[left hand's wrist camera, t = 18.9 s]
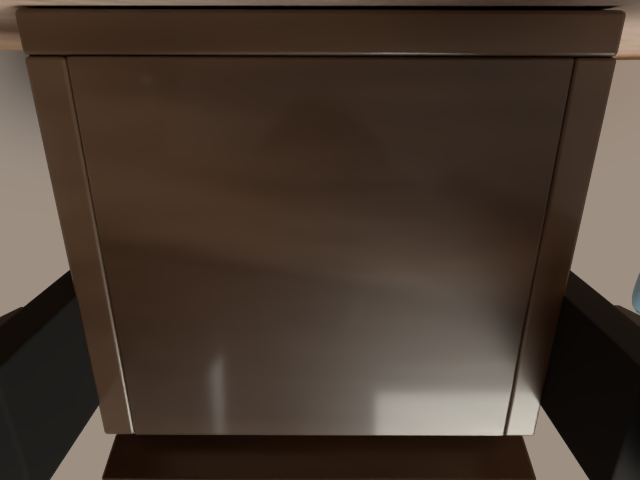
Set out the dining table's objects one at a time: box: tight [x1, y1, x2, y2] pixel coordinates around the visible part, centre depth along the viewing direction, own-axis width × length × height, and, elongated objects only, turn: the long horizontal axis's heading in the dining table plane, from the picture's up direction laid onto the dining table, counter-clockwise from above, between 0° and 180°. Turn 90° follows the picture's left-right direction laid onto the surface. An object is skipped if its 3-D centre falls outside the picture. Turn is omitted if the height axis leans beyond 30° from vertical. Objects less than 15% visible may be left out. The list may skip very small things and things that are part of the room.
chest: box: [16, 8, 626, 436], centre depth 16 cm, size 15×10×9 cm, turn 0°
